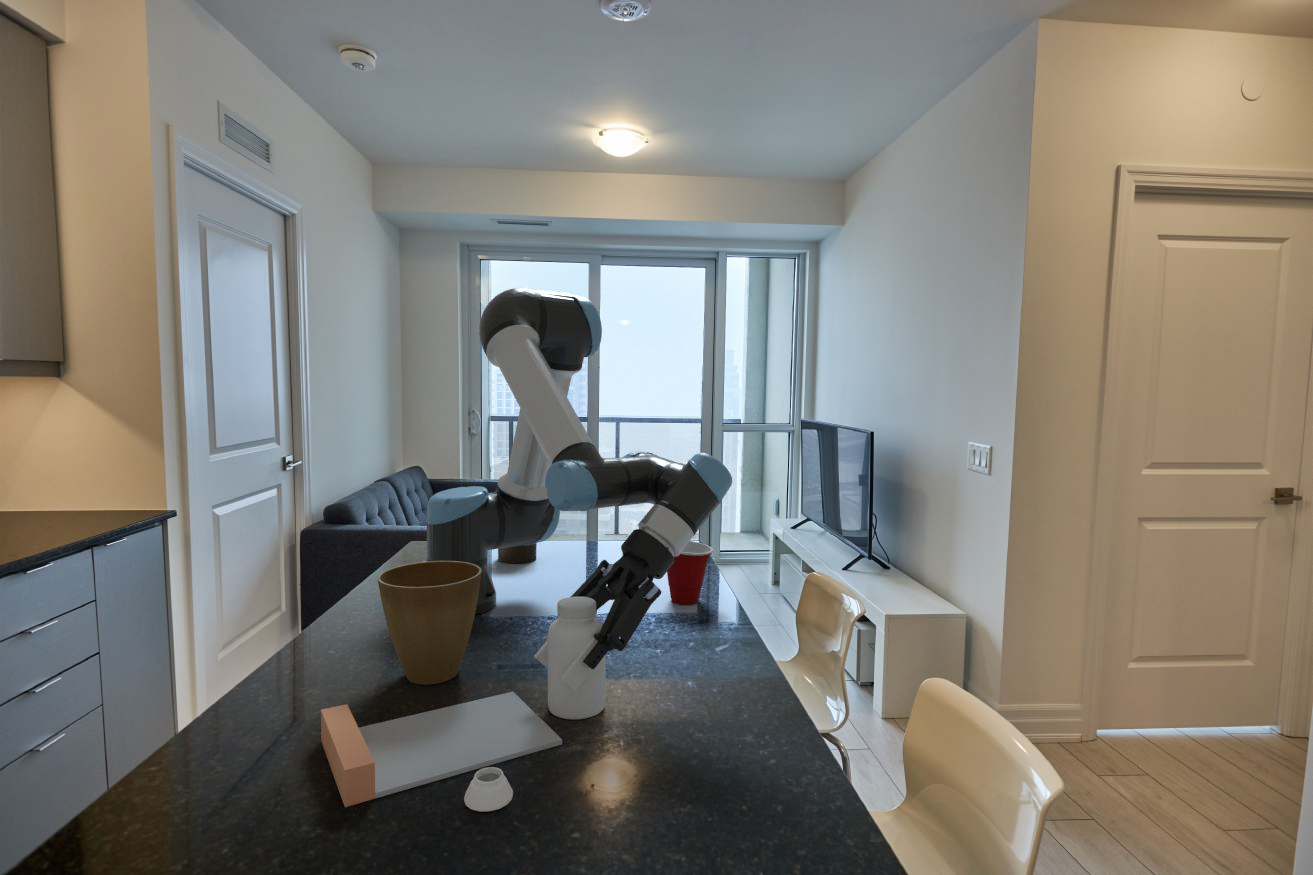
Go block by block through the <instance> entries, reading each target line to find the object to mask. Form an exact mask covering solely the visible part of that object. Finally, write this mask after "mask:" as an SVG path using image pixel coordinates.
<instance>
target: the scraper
mask: <svg viewBox="0 0 1313 875" xmlns="http://www.w3.org/2000/svg"><path fill="white" fill-rule="evenodd" d="M320 728H321V729H320V731H321V732H320V733H321V734H320V735H321V736H320V738H321V739H320V740H321V744H322V747H323V750H324V752H325V755H326V759H327V760H328V761H327V762H328V763H329V764H328V765H329V766H330V769H331V770H330V771H331V773H332V774H333V775H332V776H333V778H334V780H335V785H336V786H337V789H338V791H339V794H340V797H341V798H340V799H341V801H342V803H343V806H344V808H348V807H350V806H354V805H358V804H361V803H364V802H367V801H371V800H375V799H379V798H382V797H386V796H389V795H392V794H395V793H396V794H397V793H398V792H402V791H405V790H409V789H411V788H416V787H419V786H423V785H427V784H430V783H433V782H437V781H440V780H444V779H447V778H451V777H454V776H457V775H460V774H464V773H468V772H472V771H475V770H480V769H483V768H486V767H489V766H491V765H495V764H500V763H502V762H507V761H509V760H512V759H515V758H519V757H523V756H526V755H530V754H533V753H536V752H540V751H543V750H547V749H551V748H555V747H557V746H561V745H563V739H562V738H561V737H560V736H559V735H558V734H557V733H556V732H555V731H554V730H553V729H552V728H551V727H550V726H549V725H548V724H547V723H546V722H545V721H544V720H543V719H542V718H541V717H540V716H539V715H538V714H537V713H536V712H534V711H533V710H532V709H531V708H530V707H529V706H528V705H527V704H526V702H525V701H524V700H522V699H521V698H520V697H519V696H518V694H517V693H515V692H514V691H509V692H505V693H500V694H496V695H492V696H488V697H484V698H480V699H475V700H472V701H466V702H463V703H458V704H453V705H449V706H446V707H445V706H444V707H442V708H436V709H432V710H429V711H424V712H420V713H416V714H412V715H407V716H404V717H403V716H402V717H398V718H394V719H389V720H385V721H382V722H377V723H372V724H368V725H365V726H361V727H359V726H358V723H357V722H356V719H355V717H354V715H353V713H352V711H351V708H350V707H349V705H348V703H346V704H341V705H336V706H332V707H331V706H330V707H327V708H322V709H320Z"/></svg>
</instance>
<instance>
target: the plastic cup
mask: <svg viewBox="0 0 1313 875" xmlns="http://www.w3.org/2000/svg"><path fill="white" fill-rule="evenodd" d="M713 552H714V549H713V547H711V546H709V545H708V544H705V543H702V542H697V541H691V540H690V541H689V542H688V544H687V545H686V546H685V548H684V549H683V550H682V552H681V553H680V555H679V556H677V557H674V563H673V564H672V566H671V567H670V568H669V570H668V571H667V572H666V575H667V582H668V588H669V596H670V599H671V602H672V603H674V604H676V605H683V606H690V605H695V604H697V603H698V602H699V600H700V596H701V590H702V587H703V582H704V578H705V573H706V570H707V569H706V568H707V564H708V561H709V559H710V556H711V554H712V553H713Z"/></svg>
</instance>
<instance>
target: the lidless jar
mask: <svg viewBox="0 0 1313 875" xmlns="http://www.w3.org/2000/svg"><path fill="white" fill-rule="evenodd" d="M513 795H514V790H513V788H512V786H511V785H510V782H509V781H508V779H507V777H506V775H504V771H503V770H502V769H501V768H498V767H497V766H496V767H495V766H490V767H489V766H486V767H482V768H480V769H478V770H477V771H476V772H475V774H474V775H473V779H472V780H471V781H470V783H469V785H468V787H467V789H466V791H465V794H464V797H463V802H464V804H465V807H468V808H469V809H470V810H472V811H476V812H493V811H496V810H500V809H502V808H503V807H505V806H507V805H508V804H509V803H510V802H511V801H512V799H513Z"/></svg>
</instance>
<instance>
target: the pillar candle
mask: <svg viewBox="0 0 1313 875" xmlns="http://www.w3.org/2000/svg"><path fill="white" fill-rule="evenodd" d="M537 546H538V545H537V543H535V544H532V545H519V546H513V547H506V548H499V549H497V554H498V555H497V557H498V558H497V560H498V561H499V562H501V563H506V564H523V563H525V564H526V563H532V562H533V561H536V560H537Z"/></svg>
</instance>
